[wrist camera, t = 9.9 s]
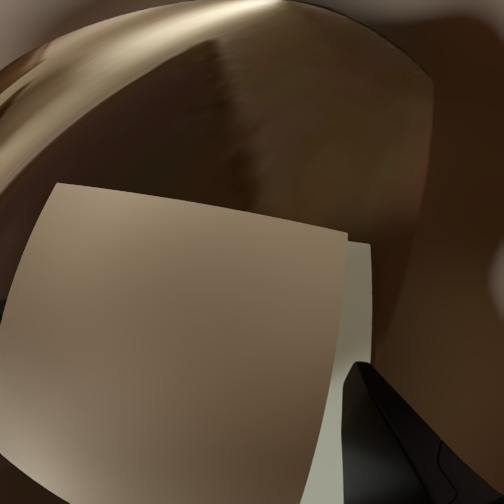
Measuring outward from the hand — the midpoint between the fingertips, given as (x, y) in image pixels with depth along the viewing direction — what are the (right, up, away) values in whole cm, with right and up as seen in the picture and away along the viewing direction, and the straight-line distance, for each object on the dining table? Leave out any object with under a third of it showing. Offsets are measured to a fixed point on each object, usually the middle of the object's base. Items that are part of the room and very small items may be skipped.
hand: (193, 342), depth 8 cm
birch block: (0, -4, +7) cm, 9 cm away
